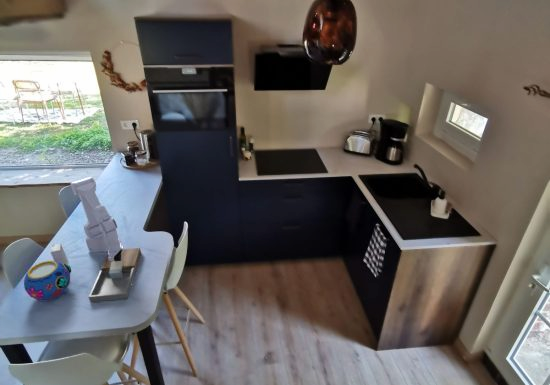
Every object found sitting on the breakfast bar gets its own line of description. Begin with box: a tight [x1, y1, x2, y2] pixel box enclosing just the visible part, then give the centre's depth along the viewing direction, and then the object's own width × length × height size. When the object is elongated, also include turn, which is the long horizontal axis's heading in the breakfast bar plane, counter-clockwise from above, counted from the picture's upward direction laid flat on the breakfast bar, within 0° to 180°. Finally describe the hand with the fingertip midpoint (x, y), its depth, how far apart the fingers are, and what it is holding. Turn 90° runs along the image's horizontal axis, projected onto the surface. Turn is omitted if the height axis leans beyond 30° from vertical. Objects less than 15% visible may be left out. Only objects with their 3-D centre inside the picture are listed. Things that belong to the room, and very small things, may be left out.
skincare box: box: [50, 243, 69, 265], centre depth 169 cm, size 6×4×12 cm
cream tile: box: [110, 261, 123, 271], centre depth 165 cm, size 5×5×2 cm
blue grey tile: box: [109, 269, 123, 279], centre depth 163 cm, size 5×5×2 cm
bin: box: [88, 268, 137, 303], centre depth 160 cm, size 16×18×4 cm
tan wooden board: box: [100, 247, 142, 272], centre depth 173 cm, size 16×14×4 cm
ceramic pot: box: [23, 260, 72, 302], centre depth 153 cm, size 18×18×15 cm
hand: (118, 262), depth 168 cm, fingers closed
